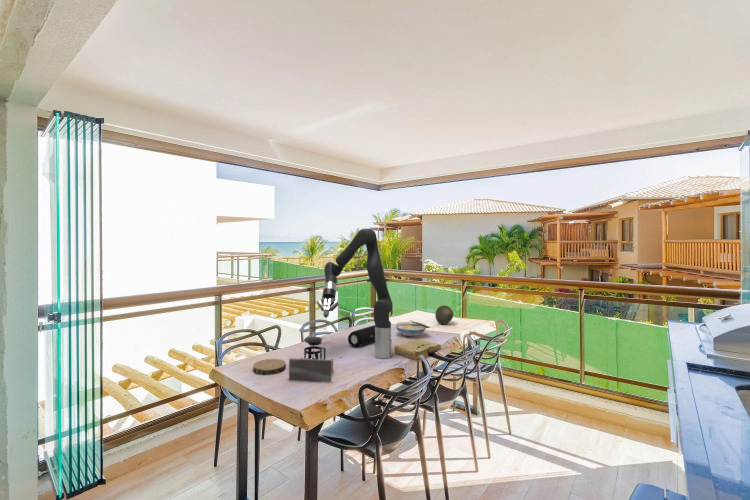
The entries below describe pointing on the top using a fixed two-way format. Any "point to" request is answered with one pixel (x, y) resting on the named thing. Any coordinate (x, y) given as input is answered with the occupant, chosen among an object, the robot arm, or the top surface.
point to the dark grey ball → (444, 314)
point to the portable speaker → (362, 336)
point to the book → (416, 349)
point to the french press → (313, 346)
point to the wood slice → (269, 366)
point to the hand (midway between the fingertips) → (325, 316)
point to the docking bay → (310, 369)
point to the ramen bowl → (411, 328)
